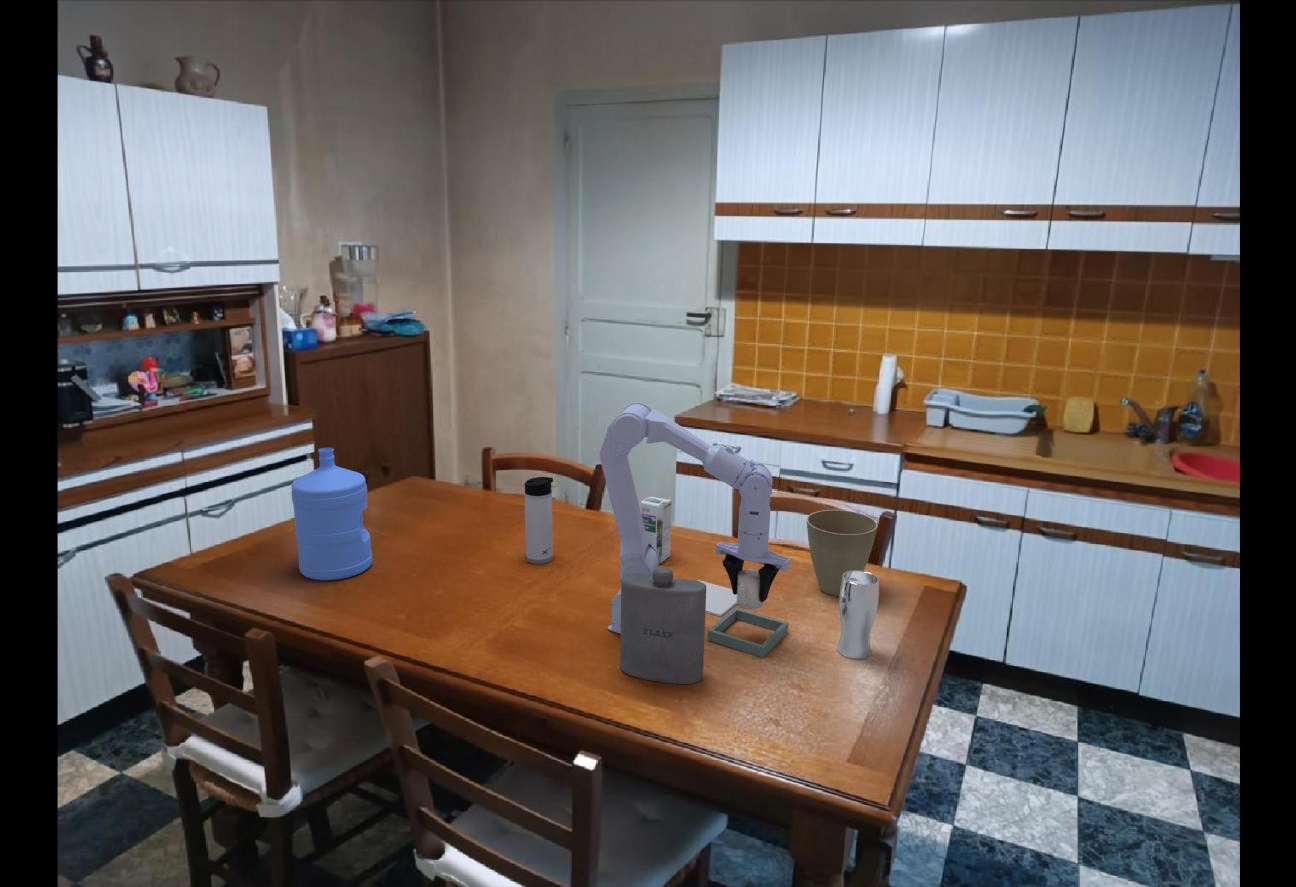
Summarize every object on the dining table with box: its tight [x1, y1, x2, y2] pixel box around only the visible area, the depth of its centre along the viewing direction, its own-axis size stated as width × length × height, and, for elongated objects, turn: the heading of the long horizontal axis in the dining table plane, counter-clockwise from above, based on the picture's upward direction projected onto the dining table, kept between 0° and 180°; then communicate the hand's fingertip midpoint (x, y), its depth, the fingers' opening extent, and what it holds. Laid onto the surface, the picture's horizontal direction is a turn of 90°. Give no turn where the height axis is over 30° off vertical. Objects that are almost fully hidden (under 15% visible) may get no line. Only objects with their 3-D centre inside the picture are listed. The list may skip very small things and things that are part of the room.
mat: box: [697, 579, 737, 618], centre depth 170 cm, size 12×12×1 cm
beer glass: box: [837, 570, 880, 660], centre depth 148 cm, size 7×7×15 cm
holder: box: [707, 607, 789, 658], centre depth 155 cm, size 12×12×2 cm
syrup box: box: [639, 496, 673, 565], centre depth 189 cm, size 6×6×14 cm
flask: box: [619, 566, 706, 685], centre depth 139 cm, size 15×6×20 cm, turn 76°
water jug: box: [291, 447, 373, 581], centre depth 179 cm, size 16×16×28 cm
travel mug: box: [524, 476, 554, 565], centre depth 186 cm, size 6×7×20 cm
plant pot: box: [806, 509, 879, 597], centre depth 174 cm, size 15×15×16 cm
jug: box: [736, 568, 764, 610], centre depth 152 cm, size 7×5×6 cm
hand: (749, 596), depth 153 cm, fingers closed on jug, 5 cm apart
